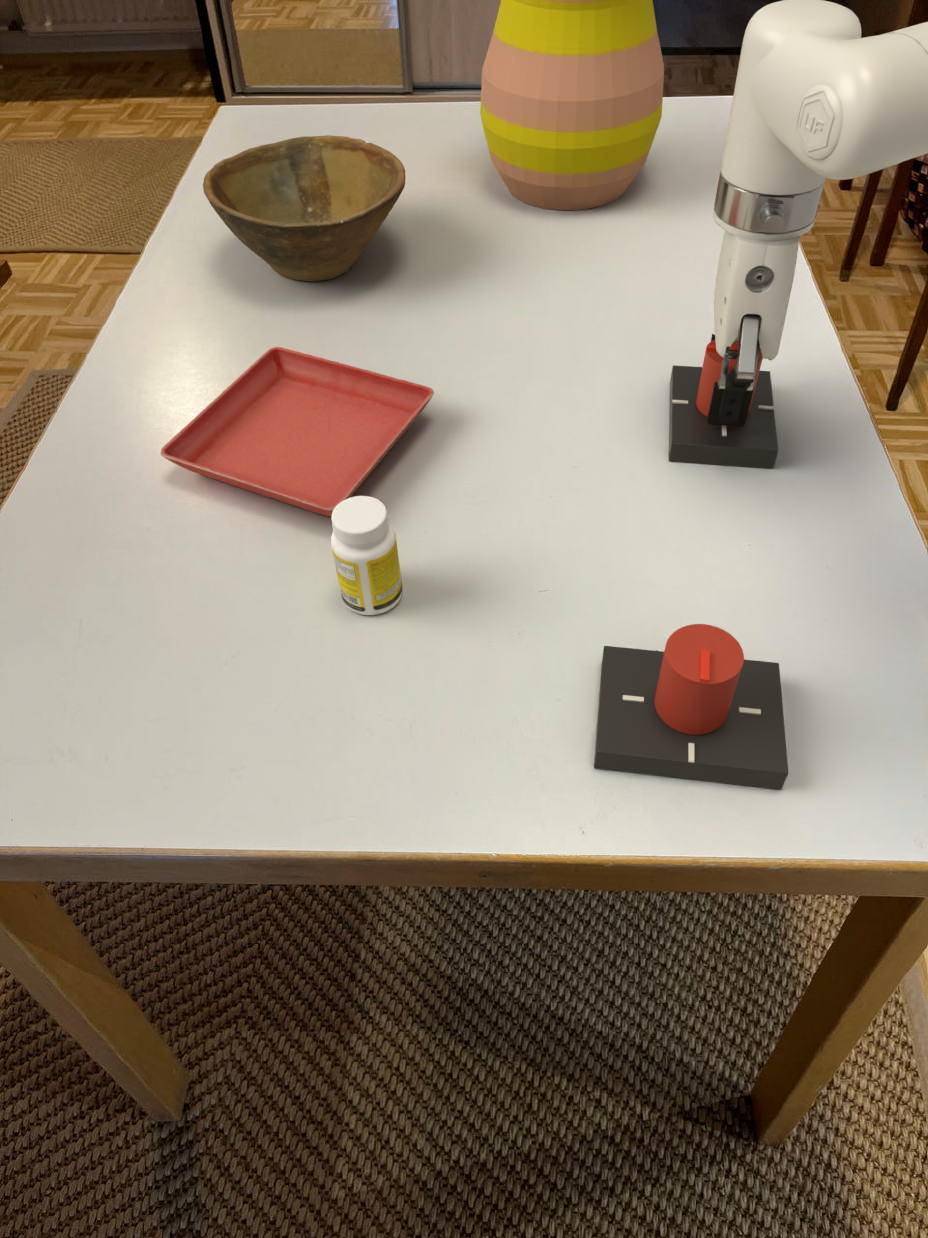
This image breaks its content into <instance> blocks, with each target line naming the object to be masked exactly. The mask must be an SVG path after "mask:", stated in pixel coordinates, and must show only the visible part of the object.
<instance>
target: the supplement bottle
mask: <svg viewBox="0 0 928 1238" xmlns="http://www.w3.org/2000/svg"><path fill="white" fill-rule="evenodd" d="M387 510H388V509H387V507H386V506H385V504H384V502H382V501H381V500H379V499H378V498H376V497H373V496H368V495H356V496H351V497H350V498H348V499H346V500H344V501H342V502H340V503H339V504H338V505H337V506H336V507H335V508H334V510H333V512H332V515H331V517H330V518H331V524H332V533H331V537H330V548H331V552H332V557H333V562H334V566H335V571H336V577H337V580H338V586H339V591H340V594H341V599H342V601H343V604H344V605H345V606H346V608H348V609H349V610H350V611H352V612H353V613H355V614H359V615H364V616H374V615H380V614H384V613H386V612H388V611H390V610H391V609H393V608H394V607H395V606H397V604H398V603H399V602H400V600H401V598H402V595H403V581H402V573H401V566H400V558H399V551H398V542H397V536H396V531H395V529H394V526H392V524H391V523H390V521H389V515H388V512H387Z"/></svg>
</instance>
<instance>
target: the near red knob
mask: <svg viewBox="0 0 928 1238" xmlns="http://www.w3.org/2000/svg"><path fill="white" fill-rule="evenodd" d="M664 646H665V647H664V651H663V652H664V656H663V661H662V666H661V670H660V675H659V680H658V685H657V690H656V695H655V708H656V711H657V713H658V715H659V716H660V718H661V719H662V720H663V721H664V722H665V723H666V724H667V725H668V726H670V727H671V728H673V729H675V730H677V731H679V732H682V733H685V734H691V735H701V734H707V733H710V732H712V731H714V730H716V729H718V728H719V727H720V726H721V725H722V724H723V723H724V721H725V720H726V718H727V715H728V712H729V708H730V705H731V702H732V699H733V696H734V693H735V689H736V686H737V683H738V680H739V677H740V673H741V670H742V667H743V663H744V660H745V654H744V650H743V648H742V645H741V644H740V642H739V641H738V640H737V639H736V638H735V637H734V636H733V635H732V634H731V633H730V632H728V631H726V630H725V629H723V628H720V627H717V626H715V625H711V624H705V623H693V624H688V625H684V626H682V627H680V628H678V629H676V630H674V631H673V632H672V633H671V634H670V636H669V637H668V638H667V640H666V643H665V645H664Z"/></svg>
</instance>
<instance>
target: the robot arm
mask: <svg viewBox="0 0 928 1238" xmlns="http://www.w3.org/2000/svg"><path fill="white" fill-rule="evenodd" d="M732 95H733V96H732V101H731V108H730V113H729V120H728V124H727V130H726V137H725V142H724V148H723V154H722V159H721V165H720V170H719V177H718V181H717V187H716V193H715V198H714V199H715V200H714V204H713V212H712V218H713V220H714V222H715V224H716V225H718V227H719V228H720V229H722V230H724V232H723V236H722V237H723V238H722V242H721V247H720V252H719V258H718V264H717V271H716V278H715V285H714V293H713V295H714V296H713V325H714V333H713V334H711V338H710V342H711V341H712V340H714V339H715V341H716V351H717V352H718V354H719V355H720V356H722V360H721V367H720V374H719V381H718V382H715V383H714V388H713V392H712V397H711V402H710V407H709V412H708V417H707V420H708V424H710V425H720V426H736V427H742V426H744V425H745V423H746V419H747V415H748V411H749V406H750V402H751V398H752V394H753V390H754V380H755V374H756V368H757V361H758V356H759V349H760V348H761V352H762V357H763V359H762V360H768V361H773V360H775V358H776V357H777V356H778V354H779V351H780V346H781V342H782V336H783V331H784V326H785V322H786V318H787V313H788V308H789V303H790V298H791V292H792V288H793V283H794V278H795V273H796V268H797V267H796V266H797V261H798V259H797V258H798V253H799V243H800V237H801V236H804V235H806V234H807V233H809V232H810V231H811V230H812V228H814V225H815V221H816V218H817V213H818V211H819V210H818V209H819V206H820V201H821V198H822V195H823V191H824V187H825V182H826V179H830V180H833V181H836V180H838V181H845V180H846V181H847V180H852V179H856V178H860V177H864V176H866V175H867V176H868V175H870V174H873V173H875V172H878V171H881V170H884V169H887V168H891V167H893V166H895V165H896V166H897V165H898V164H901V163H903V162H906V161H910V160H911V159H912V160H913V159H915V158H918V157H921V156H924V155H927V154H928V21H926V22H925V21H924V22H921V23H918V24H914V25H911V26H906V27H904V28H901V29H896V30H893V31H889V32H885V33H881V34H879V35H871V36H866V37H862V25H861V22H860V19H859V17H858V15H856V14H855V12H854V11H853V10H852V9H850V8H848V7H847V6H843V5H842V4H839V3H836V2H832V1H827V0H779V1H775V2H772V3H769V4H766V5H764V6H763V7H761V8H760V9H758V10H756V12H755V13H754V14H753V15H752V16H751V18H750V19H749V21H748V23H747V26H746V28H745V31H744V35H743V39H742V43H741V49H740V55H739V61H738V68H737V74H736V79H735V85H734V91H733V94H732ZM733 343H739V347H738V350H729V349H730V347H731V345H732V344H733ZM730 359H737V365H736V367H735V370H731V371H730V372H729V373H728V368H729V362H730Z"/></svg>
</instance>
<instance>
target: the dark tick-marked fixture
mask: <svg viewBox="0 0 928 1238" xmlns="http://www.w3.org/2000/svg"><path fill="white" fill-rule="evenodd" d="M663 656H664V651H662V650H653V649H652V650H651V649H641V648H631V647H620V646H611V645H610V646H609V645H604V646H603V649H602V656H601V657H602V658H601V665H600V666H601V668H600V681H599V695H598V707H597V723H596V735H595V747H594V762H593V768H594V769H597V770H605V771H606V770H607V771H615V772H624V773H633V774H641V775H650V776H658V777H666V778H675V779H684V780H693V781H701V782H710V783H718V784H728V785H736V786H744V787H751V788H753V787H754V788H762V789H771V790H780V791H781V790H782V789H783V787H784V784H785V783H786V780H787V778H788V775H789V764H788V755H787V754H788V752H787V741H786V731H785V729H786V728H785V727H786V726H785V718H784V707H783V694H782V681H781V670H780V663H779V662H772V661H764V660H752V659H744V663H743V667H742V670H741V673H740V677H739V680H738V683H737V686H736V689H735V693H734V696H733V699H732V702H731V705H730V708H729V712H728V715H727V718H726V720H725V721H724V723H723V724H722V725H721V726H720V727H719V728H718V729H716V730H714V731H712V732H710V733H707V734H701V735H691V734H685V733H682V732H679V731H677V730H675V729H673V728H671V727H670V726H668V725H667V724H666V723H665V722H664V721H663V720H662V719H661V718H660V716H659V715H658V713H657V711H656V708H655V695H656V690H657V685H658V680H659V675H660V670H661V666H662V661H663Z"/></svg>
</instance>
